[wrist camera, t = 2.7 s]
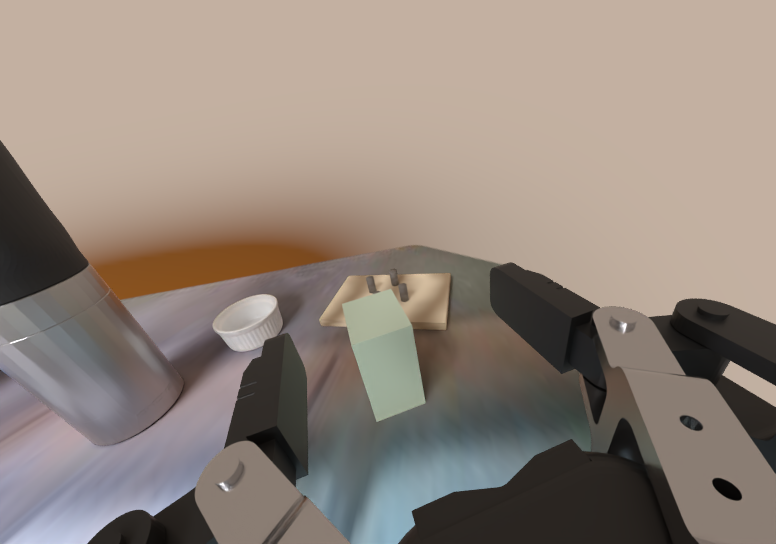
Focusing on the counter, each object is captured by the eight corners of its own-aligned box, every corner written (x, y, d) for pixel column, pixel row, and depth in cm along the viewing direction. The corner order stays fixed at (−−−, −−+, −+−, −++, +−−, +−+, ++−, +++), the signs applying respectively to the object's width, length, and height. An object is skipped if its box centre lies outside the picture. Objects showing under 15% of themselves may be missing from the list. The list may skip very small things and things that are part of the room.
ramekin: (261, 311, 47) (251, 290, 45) (298, 320, 43) (289, 297, 40) (214, 347, 40) (199, 325, 38) (252, 363, 36) (238, 338, 34)
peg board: (321, 325, 40) (313, 305, 38) (350, 281, 50) (345, 263, 48) (446, 330, 35) (443, 307, 33) (450, 279, 45) (449, 259, 43)
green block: (425, 403, 27) (412, 325, 22) (376, 421, 26) (351, 345, 21) (405, 359, 32) (390, 288, 27) (364, 374, 31) (341, 303, 26)
